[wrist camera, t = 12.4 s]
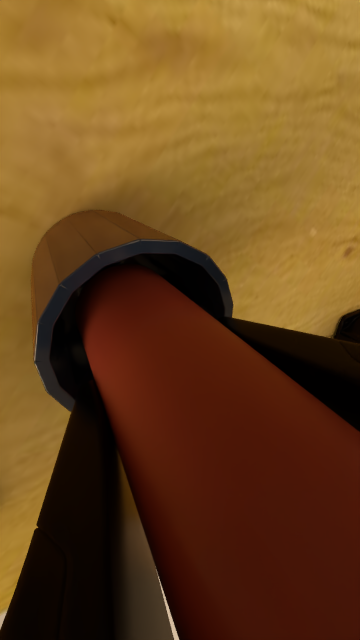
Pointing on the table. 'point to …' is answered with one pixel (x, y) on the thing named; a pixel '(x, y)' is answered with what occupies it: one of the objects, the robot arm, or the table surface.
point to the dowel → (225, 467)
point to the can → (86, 262)
